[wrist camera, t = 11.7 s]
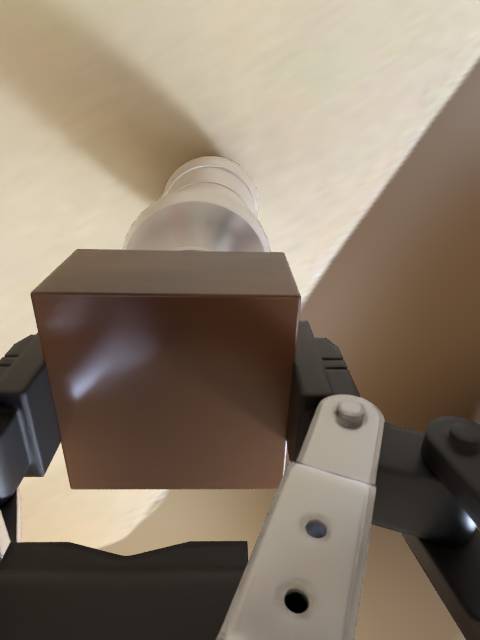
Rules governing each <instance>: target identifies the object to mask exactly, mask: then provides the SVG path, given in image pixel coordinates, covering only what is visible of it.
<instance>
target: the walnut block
mask: <svg viewBox="0 0 480 640" xmlns="http://www.w3.org/2000/svg"><path fill="white" fill-rule="evenodd" d="M31 299H32V304H33V309H34V314H35V319H36V323H37V328H38V333H39V338H40V343H41V347H42V352H43V357H44V362H46V367H47V372H48V377H49V381H50V386H51V391H52V396H53V401H54V406H55V410H56V415H57V420H58V425H59V430H60V435H61V439H62V440H61V444H62V449H63V453H64V458H65V463H66V468H67V473H68V478H69V482H70V487H71V489H278V487H279V485H280V482H281V480H282V477H283V475H284V472H285V464H286V452H287V442H286V438H287V427H288V416H289V405H290V394H291V384H292V373H293V364H294V363H295V358H296V347H297V337H298V326H299V316H300V305H301V296H300V293H299V291H298V288H297V285H296V283H295V280H294V277H293V275H292V272H291V270H290V267H289V264H288V262H287V259H286V256H285V254H284V253H283V252H224V251H162V250H100V249H77V250H75V251H74V252H73V253H72V254H71V255H70V256H69V257H68V258H67V259H66V260H65V261H64V262H63V263H62V264H61V265H60V266H58V267H57V268H56V269H55V270H54V271H53V272H52V273H51V274H50V275H49V276H48V277H47V278H46V279H45V280H44V281H43V282H42V283H40V284H39V285H38V286H37V287H36V288H35V289H34V290H33V291H32V292H31Z"/></svg>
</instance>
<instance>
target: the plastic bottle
mask: <svg viewBox="0 0 480 640" xmlns="http://www.w3.org/2000/svg"><path fill="white" fill-rule="evenodd" d="M258 207H259V205H258V194H257V190H256V187H255V185H254V183H253V180H252V179H251V177H250V176H249V175H248V173H247V172H246V171H245V170H244V169H243V168H242V167H241V166H240V165H238V164H236V163H235V162H233V161H231V160H229V159H226V158H223V157H217V156H204V157H199V158H196V159H192V160H190V161H188V162H187V163H185V164H183V165H182V166H180V167H179V168H178V169H177V170H176V171H175V172H174V173H173V174H172V176H171V177H170V178H169V180H168V182H167V184H166V186H165V188H164V192H163V196H162V198H160V199H158V200H157V201H155V202H154V203H153V204H151V205H150V206H149V207H148V208H147V209H145V210H144V211H143V212H142V213H141V214H140V215H139V216H138V217H137V219H136V220H135V221H134V223H133V224H132V225H131V227H130V229H129V231H128V233H127V235H126V237H125V241H124V245H123V249H122V250H162V251H224V252H271V251H270V246H269V242H268V238H267V236H266V234H265V232H264V230H263V228H262V226H261V224H260V222H259V220H258V219H257V213H258Z"/></svg>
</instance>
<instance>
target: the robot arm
mask: <svg viewBox="0 0 480 640" xmlns="http://www.w3.org/2000/svg"><path fill="white" fill-rule="evenodd" d="M61 440H62V439H61V435H60V430H59V425H58V420H57V415H56V410H55V406H54V401H53V396H52V391H51V386H50V381H49V377H48V372H47V367H46V362H44V357H43V352H42V347H41V343H40V338H39V333H37V334H36V335H30V336H28V337H26V338H24V339H23V340H21V341H19V342H17V343H16V344H14V345H13V346H12V348H11V349H10V350H9V351H8V352H7V353H6V354H5V357H3V358H2V359H1V360H0V640H355V634H356V626H357V619H358V612H359V606H360V598H361V592H362V585H363V578H364V571H365V564H366V557H367V550H368V543H369V536H370V530H371V524H373V525H376V526H380V527H383V528H387V529H390V530H394V531H397V532H401V533H402V535H403V537H404V539H405V541H406V543H407V544H408V546H409V547H410V549H411V551H412V552H413V554H414V555H415V557H416V559H417V560H418V562H419V563H420V565H421V567H422V568H423V570H424V572H425V573H426V575H427V577H428V578H429V580H430V581H431V583H432V585H433V586H434V588H435V590H436V591H437V593H438V595H439V596H440V598H441V599H442V601H443V603H444V604H445V606H446V607H447V609H448V611H449V612H450V614H451V616H452V617H453V619H454V621H455V622H456V624H457V626H458V627H459V629H460V630H461V632H462V634H463V635H464V637H465V639H466V640H480V531H479V530H478V528H479V529H480V425H479V424H477V423H475V422H473V421H470V420H467V419H463V418H459V417H451V416H449V417H448V416H446V417H439V418H436V419H433V420H432V421H430V422H429V424H428V425H427V428H426V432H425V433H424V432H419V431H415V430H410V429H406V428H401V427H397V426H394V425H391V424H388V423H386V422H384V417H383V415H382V413H381V411H380V410H379V409H378V408H377V407H376V406H375V405H374V404H372V403H371V402H369V401H367V400H365V399H363V398H361V397H360V394H359V392H358V390H357V388H356V386H355V383H354V381H353V379H352V377H351V375H350V372H349V370H347V366H346V363H345V361H343V357H342V355H341V353H340V350H339V348H338V347H337V346H336V345H335V344H333V343H332V342H331V341H330V340H328V339H327V338H314V336H313V333H312V330H311V328H310V325H309V323H308V321H299V326H298V337H297V347H296V358H295V363H294V364H293V373H292V384H291V394H290V405H289V416H288V427H287V438H286V442H287V448H288V454H289V460H290V462H289V463H288V465H287V467H286V470H285V472H284V475H283V477H282V480H281V482H280V485H279V487H278V489H277V492H276V495H275V497H274V499H273V502H272V504H271V507H270V509H269V512H268V514H267V517H266V519H265V522H264V524H263V526H262V529H261V531H260V534H259V536H258V539H257V541H256V544H255V546H254V549H253V551H252V554H251V556H250V559H249V561H248V546H247V541H209V542H208V541H200V542H199V541H196V542H195V541H193V542H192V541H191V542H186V543H182V544H177V545H173V546H169V547H165V548H161V549H157V550H153V551H149V552H144V553H140V554H136V555H131V556H122V555H117V554H113V553H109V552H105V551H102V550H98V549H94V548H90V547H86V546H82V545H78V544H74V543H70V542H21V494H20V490H19V487H18V486H19V484H20V483H21V481H22V479H23V477H44V475H45V473H46V470H47V468H48V466H49V464H50V462H51V460H52V458H53V456H54V454H55V452H56V450H57V448H58V446H59V444H60V442H61ZM476 526H477V527H478V528H477V527H476Z"/></svg>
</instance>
